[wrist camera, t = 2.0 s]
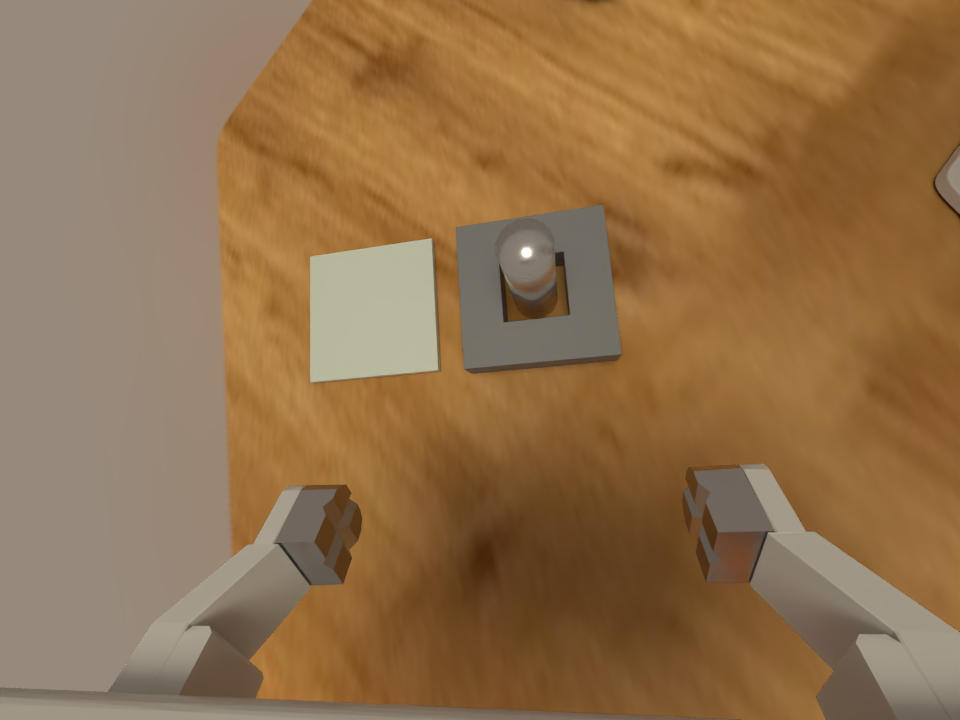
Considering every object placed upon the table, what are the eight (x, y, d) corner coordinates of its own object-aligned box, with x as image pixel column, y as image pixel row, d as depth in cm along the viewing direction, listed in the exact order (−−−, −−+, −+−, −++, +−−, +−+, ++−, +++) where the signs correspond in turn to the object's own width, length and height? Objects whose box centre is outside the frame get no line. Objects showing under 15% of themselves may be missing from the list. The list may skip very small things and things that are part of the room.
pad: (315, 259, 42) (310, 256, 41) (434, 242, 40) (431, 238, 39) (315, 383, 40) (310, 382, 39) (440, 371, 38) (438, 370, 37)
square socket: (463, 242, 39) (455, 227, 36) (600, 222, 37) (603, 204, 34) (471, 373, 37) (464, 368, 34) (616, 360, 35) (621, 354, 32)
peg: (526, 271, 38) (510, 210, 27) (564, 287, 37) (564, 229, 26) (508, 308, 37) (485, 261, 27) (546, 325, 37) (538, 282, 26)
